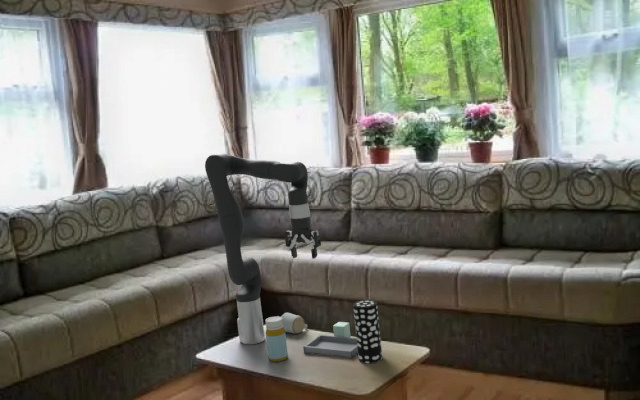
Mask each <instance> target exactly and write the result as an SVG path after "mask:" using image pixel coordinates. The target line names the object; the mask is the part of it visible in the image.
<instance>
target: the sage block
mask: <svg viewBox="0 0 640 400" xmlns="http://www.w3.org/2000/svg"><path fill="white" fill-rule="evenodd" d="M332 329H333V330H332V331H333V336H340V337H351V326H350V322H345V321H338V322H337V323H335V324H334V325H332ZM351 338H352V337H351Z"/></svg>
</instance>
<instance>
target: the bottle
mask: <svg viewBox="0 0 640 400" xmlns="http://www.w3.org/2000/svg"><path fill="white" fill-rule="evenodd" d="M265 328H266V330H265V339H266V340H265V341H266V348H267V354H268V359H269V360H270V361H271V362H273V363H279V362H283V361H285V360H287V358H288V356H289V355H288V354H289V353H288V346H287V338H286V337H287V336H286V332H285V329H284V327H283V320H282V317H281V316H279V315H277V316H270V317H268V318H266V319H265Z"/></svg>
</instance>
